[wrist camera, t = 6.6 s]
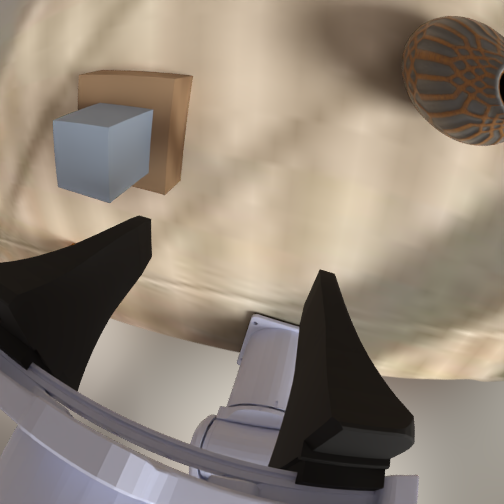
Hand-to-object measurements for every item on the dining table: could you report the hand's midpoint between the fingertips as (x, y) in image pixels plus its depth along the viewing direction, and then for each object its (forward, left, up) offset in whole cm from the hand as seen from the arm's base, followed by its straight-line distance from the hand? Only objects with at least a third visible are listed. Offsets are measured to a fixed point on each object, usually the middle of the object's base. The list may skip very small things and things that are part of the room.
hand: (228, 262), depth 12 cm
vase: (+11, -8, -10) cm, 17 cm away
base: (+2, +11, -10) cm, 15 cm away
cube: (+1, +10, -7) cm, 13 cm away
